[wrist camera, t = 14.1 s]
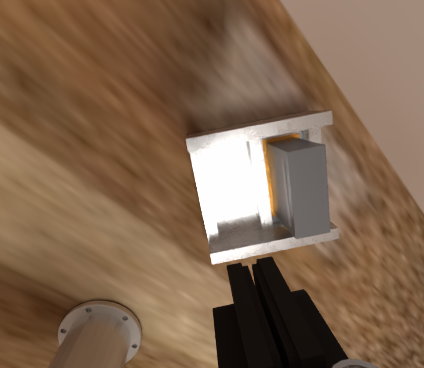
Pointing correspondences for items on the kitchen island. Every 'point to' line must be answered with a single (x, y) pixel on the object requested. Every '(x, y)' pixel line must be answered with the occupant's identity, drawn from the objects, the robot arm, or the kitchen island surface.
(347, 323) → the kitchen island surface
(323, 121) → the rack
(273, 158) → the panel
